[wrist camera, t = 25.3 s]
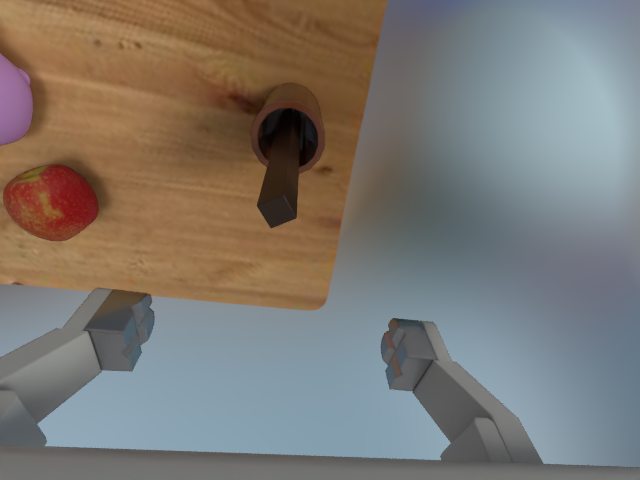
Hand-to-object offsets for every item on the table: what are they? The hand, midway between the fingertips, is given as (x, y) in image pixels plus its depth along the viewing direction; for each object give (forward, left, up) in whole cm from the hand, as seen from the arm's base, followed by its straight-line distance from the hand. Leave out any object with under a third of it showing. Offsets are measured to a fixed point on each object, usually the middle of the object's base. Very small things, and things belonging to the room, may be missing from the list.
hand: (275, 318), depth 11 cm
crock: (0, 0, -30) cm, 30 cm away
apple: (+29, -3, -30) cm, 42 cm away
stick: (0, 0, -29) cm, 29 cm away
